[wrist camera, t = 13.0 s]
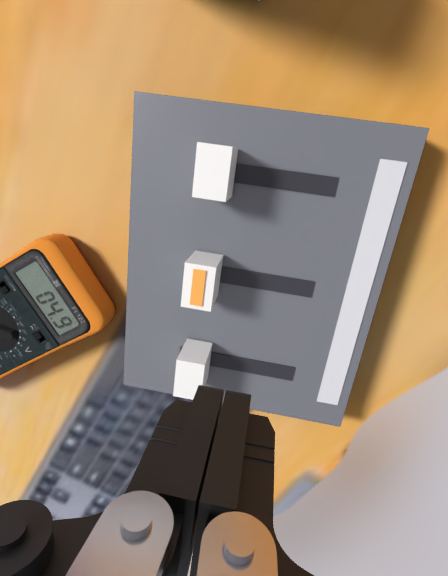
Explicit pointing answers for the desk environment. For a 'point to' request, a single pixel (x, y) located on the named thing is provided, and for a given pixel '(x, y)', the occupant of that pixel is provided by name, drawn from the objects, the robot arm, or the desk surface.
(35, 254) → the multimeter
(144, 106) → the slider switch panel
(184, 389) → the breaker
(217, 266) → the breaker
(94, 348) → the desk surface
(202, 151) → the block
